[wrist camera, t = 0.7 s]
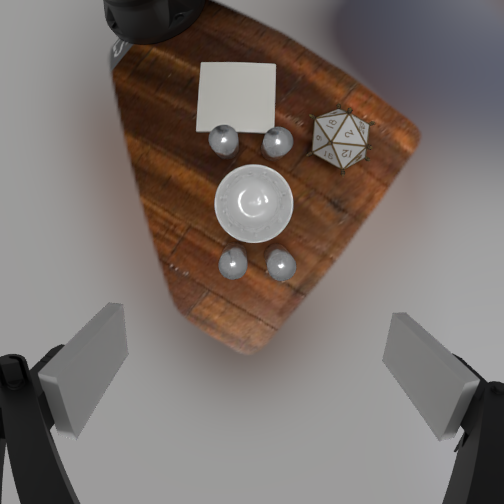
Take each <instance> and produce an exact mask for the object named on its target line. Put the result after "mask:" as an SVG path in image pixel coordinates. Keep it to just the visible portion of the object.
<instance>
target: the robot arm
mask: <svg viewBox="0 0 504 504" xmlns="http://www.w3.org/2000/svg"><path fill="white" fill-rule="evenodd" d="M103 1H104V10H105V18H106V21H107V23H108V25H109V27H110V28H111V30H112V31H113V32H114V33H115V34H116V35H117V36H118V37H119V38H120V39H122V40H124V41H126V42H129V43H133V44H152V43H157V42H161V41H164V40H167V39H170V38H172V37H174V36H176V35H178V34H180V33H181V32H183V31H184V30H186V29H187V28H188V27H189V26H190V25H192V24H193V23H194V21H195V20H196V19H197V18H198V17H199V15H200V13H201V12H202V10H203V7H204V4H205V0H103ZM127 356H128V347H127V339H126V329H125V319H124V309H123V304H118V303H108V304H107V305H106V306H105V307H104V308H103V309H102V310H101V311H100V312H99V313H98V314H96V316H94V317H93V318H92V319H91V320H90V321H89V322H88V323H87V324H86V325H85V326H84V327H83V328H82V329H81V330H80V331H79V332H78V333H77V334H76V335H75V336H74V337H73V338H72V339H71V340H70V341H69V342H68V343H67V344H66V345H62V344H61V345H59V346H57V347H55V348H52V349H51V350H50V351H49V352H48V353H47V354H46V355H45V356H44V357H43V358H42V359H41V360H40V361H39V362H38V363H37V364H36V365H35V366H34V367H33V368H32V369H31V370H30V371H29V368H28V365H27V361H26V359H25V357H23V356H21V355H17V354H8V355H4V356H1V357H0V504H1V496H2V495H1V494H2V478H3V465H4V456H5V447H6V443H7V449H8V454H9V459H10V464H11V468H12V473H13V477H14V481H15V485H16V489H17V493H18V496H19V499H20V503H21V504H80V502H79V500H78V498H77V496H76V494H75V492H74V489H73V487H72V485H71V483H70V480H69V478H68V476H67V474H66V471H65V469H64V466H63V464H62V461H61V459H60V456H59V454H58V451H57V448H56V446H55V443H54V440H53V437H52V435H51V432H50V429H51V427H52V426H53V425H54V424H55V426H56V429H57V431H58V434H59V435H60V436H64V437H67V438H71V439H74V440H77V438H78V436H79V435H80V433H81V431H82V430H83V428H84V426H85V425H86V423H87V421H88V419H89V418H90V416H91V414H92V413H93V411H94V409H95V408H96V406H97V404H98V403H99V401H100V399H101V398H102V396H103V394H104V393H105V391H106V389H107V388H108V386H109V385H110V383H111V381H112V379H113V378H114V376H115V374H116V373H117V372H118V370H119V368H120V367H121V365H122V364H123V361H124V360H125V359H126V357H127ZM382 361H383V362H384V364H385V365H386V367H387V368H388V369H389V371H390V372H391V373H392V375H393V376H394V378H395V379H396V380H397V382H398V383H399V384H400V386H401V387H402V389H403V390H404V391H405V393H406V394H407V395H408V397H409V399H410V400H411V401H412V403H413V404H414V406H415V407H416V408H417V410H418V411H419V413H420V414H421V416H422V417H423V418H424V420H425V421H426V423H427V424H428V426H429V427H430V429H431V430H432V431H433V433H434V434H435V436H436V437H437V439H438V440H439V441H443V440H446V439H450V438H454V437H455V435H456V433H457V431H458V429H459V427H460V426H461V427H462V428H463V429H464V433H463V435H462V437H461V439H460V441H459V443H458V445H457V447H456V449H455V450H454V452H456V451H457V450H458V453H457V457H456V460H455V464H454V468H453V471H452V475H451V478H450V482H449V485H448V488H447V491H446V494H445V497H444V500H443V503H442V504H504V383H501V382H496V381H492V382H489V383H488V382H487V381H486V380H485V379H484V378H482V377H481V376H480V375H479V374H478V373H477V372H476V371H475V370H473V369H472V367H471V366H469V365H467V363H466V362H465V361H464V360H463V359H462V358H460V357H458V356H456V355H454V354H452V353H451V352H450V351H448V350H447V349H446V348H445V347H444V346H443V345H442V344H440V343H439V342H438V341H437V340H436V339H435V338H434V337H433V336H432V335H431V334H430V333H428V332H427V331H426V330H425V329H424V328H423V327H422V326H420V325H419V324H418V323H417V322H416V321H414V320H413V319H412V318H411V317H410V316H409V315H408V314H407V313H393V315H392V319H391V324H390V329H389V334H388V338H387V343H386V347H385V351H384V355H383V360H382Z"/></svg>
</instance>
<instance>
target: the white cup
mask: <svg viewBox="0 0 504 504" xmlns="http://www.w3.org/2000/svg"><path fill="white" fill-rule="evenodd" d="M292 211H293V196H292V192H291V189H290V187H289V185H288V183H287V182H286V180H285V179H284V178H283V177H282V176H281V175H280V174H279V173H278V172H276V171H275V170H273V169H271V168H269V167H266V166H263V165H245V166H242V167H239V168H237V169H235V170H233V171H231V172H230V173H229V174H228V175H227V176H226V177H225V178H224V179H223V180H222V181H221V183H220V185H219V187H218V189H217V191H216V195H215V212H216V216H217V219H218V221H219V223H220V224H221V226H222V227H223V229H224V230H225V231H226V232H227V233H228V234H230V235H231V236H232V237H234V238H236V239H238V240H240V241H244V242H249V243H259V242H264V241H267V240H270V239H272V238H274V237H275V236H277V235H278V234H279V233H281V232H282V231H283V229H284V228H285V227H286V226H287V224H288V222H289V220H290V218H291V215H292Z"/></svg>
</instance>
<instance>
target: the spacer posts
mask: <svg viewBox="0 0 504 504" xmlns="http://www.w3.org/2000/svg"><path fill="white" fill-rule="evenodd" d="M209 144H210V146H211V147H212V149H213V150H214V151H215V153H216V154H217V155H218V156H219V157H220V158H222V159H231V158H233V157H235V156H236V155H237V153H238V151H239V141H238V134H237V132H236V130H235V129H234V128H233V127H231V126H229V125H219V126H216V127H215V128H214V129H213V130H212V131H211V132H210V135H209ZM292 145H293V137H292V135H291V133H290V132H289V131H288V130H287V129H285V128H283V127H273V128H271V129H269V130H268V131H267V132H266V134H265V136H264V139H263V142H262V145H261V153H262V155H263V156H264V158H266V159H267V160H269V161H277V160H279V159H281V158H282V157H283V156H284V155H285V154H286V153H287V152H288V151H289V150H290V149H291V147H292ZM264 258H265V261H266V265H267V268H268V271H269V274H270V275H271V276H272V277H273V278H274V279H276V280H278V281H285V280H288V279H290V278H291V277H292V276H293V275H294V273H295V271H296V262H295V260H294V258H293V257H292V256H291V254H290V253H289V252H288V250H287V249H286V248H285V247H284V246H283V245H281V244H277V243H276V244H272V245H270V246H268V247H267V249H266V250H265V253H264ZM219 270H220V272H221V274H222V275H223V276H224V277H226V278H228V279H238V278H240V277H242V276H243V275H244V274H245V272H246V270H247V251H246V249H245V247H244V246H243V245H242V244H240V243H238V242H232V243H229V244H227V245H226V246H225V248H224V250H223V252H222V255H221V258H220V260H219Z"/></svg>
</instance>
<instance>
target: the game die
mask: <svg viewBox="0 0 504 504" xmlns="http://www.w3.org/2000/svg"><path fill="white" fill-rule="evenodd" d="M336 106H337V108H338V109H336V110H333V111H331V112H328V113H326V114H323V115H321V116H318V117H315V116H314V115H313V114H309V116H310V118H312V119H314V128H313V141H312V151H311V152H307V154H306V156H309V157H310V156H311V155H312V154H314V155H316V156H318V157H320V158H321V159H323V160H325V161H327V162H329V163H330V164H332V165H334V166H336V167H337V168H339V169H341V175H342V176H344V175H345V171H344V169H346V168H348V167H350V166H351V165H353V164H355V163H357V162H359V161H360V160H362V159H364V158H365V160H366V161H370V158H368V157H366V153H367V148H368V149H370V150H371V149H372V146H371V145H368V138H369V129H370V126H371V125H374V123H375V122H374V121H371V122H370V123H367V122H365V121H364V120H362V119H360V118H358V117H357V116H355V115H353V114H351V112H352V111H353V110H352V109H351V107H350V108H348V111H345V110H342V109H340V108H341V105H340V104H339V103H338V104H337V105H336Z"/></svg>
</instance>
